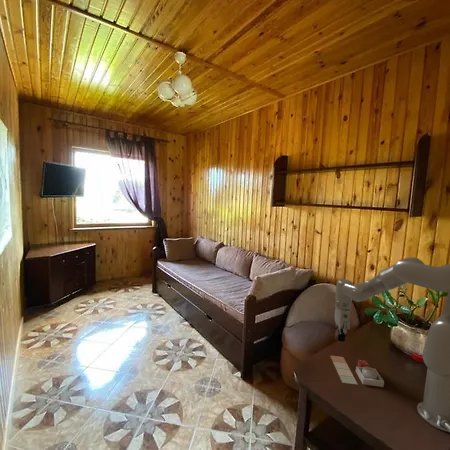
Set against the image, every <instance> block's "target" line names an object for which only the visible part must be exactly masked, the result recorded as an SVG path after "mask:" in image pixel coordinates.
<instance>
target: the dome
mask: <svg viewBox="0 0 450 450" xmlns="http://www.w3.org/2000/svg"><path fill="white" fill-rule="evenodd" d="M375 369H376V368H373V367H371V366H369V367H367V366H365V367H363V368H362V374H363V376H364V378H368V379H376V380H377V372H378V370H377V369H376V370H375Z"/></svg>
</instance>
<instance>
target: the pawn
mask: <svg viewBox="0 0 450 450" xmlns="http://www.w3.org/2000/svg"><path fill="white" fill-rule="evenodd" d="M342 330H343V329H341V331H342ZM338 333H339V327H338V328H337V330H336V331H335V330H334V340H336V341H338Z"/></svg>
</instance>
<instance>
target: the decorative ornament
mask: <svg viewBox="0 0 450 450" xmlns="http://www.w3.org/2000/svg"><path fill="white" fill-rule="evenodd" d="M412 357H413V358H414V361H416V362H418V363H421V364H423V365H425V363H424V360H423V356H421V355H418V354H417V353H412ZM412 357H411V358H412ZM413 358H412V359H413Z"/></svg>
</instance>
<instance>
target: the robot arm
mask: <svg viewBox="0 0 450 450" xmlns="http://www.w3.org/2000/svg"><path fill="white" fill-rule="evenodd" d="M405 284H412V285H414V286H418V287H422V288H426V289H429V290H433V291H437V292H442V293H443V292H444V293H446V292H447V295H446V298H445V302H444V307H443V309H442V312H441V314H440V316H439V317H438V318H437V319H436V320H434V321H433V322H432V324H431V325H430V327H429V329H428V333H427V336H426V341H425V343H424V346H423V349H422V350H423V360H424V363H425V364H424V365H425V366H426V368H427V371H426V377H425V385H424V391H423V392H424V393H423V401H421V402H419V403H418V404H417V406H416V411H417V413H418V414H419V416H420V417H421V418H422V419H424V421H426V422H427V423H428V424H429V425H431V426H432V427H434V428H436V429H439V430H440V431H444V432H448V433H450V263H448V264H442V265H440V266H434V265H429V264H425V263H424V262H423V260H422V259H420V258H417V257H415V256H414V257H413V256H411V257H405V258H401V259H399V260H398V261H396V262H394V264H391V265H390V266H388V267H386V268H384V269H383V270H380V271H379V272H378V274H377V275H376V276H374V277H372V278H370V279H368V280H366V281H364V282H360V283H357V284H354V282H353V281H351V280H349V279H343V278H341V279H340V278H339V279H338V280H337V281H336V288H335V297H334V300H335V301H334V307H335V309H334V317H333V318H334V321H335V328H334V329H335V330H334V332H335V331H336V330H337V328H338V327H339V333H338V340H337V341H338V342H343V343H344V342H345V341H346V334H347V332H348V331H347V330H350V329H351V309H352V301H353V302H356V303H361V302H363V301H366V300H368V299H370V298H373V297H375V296H377V295H379V294H382V293H384V292H387V291H389V290H394V289H396V288H399V287H401V286H403V285H405ZM341 329H343V330H342V331H341Z"/></svg>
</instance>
